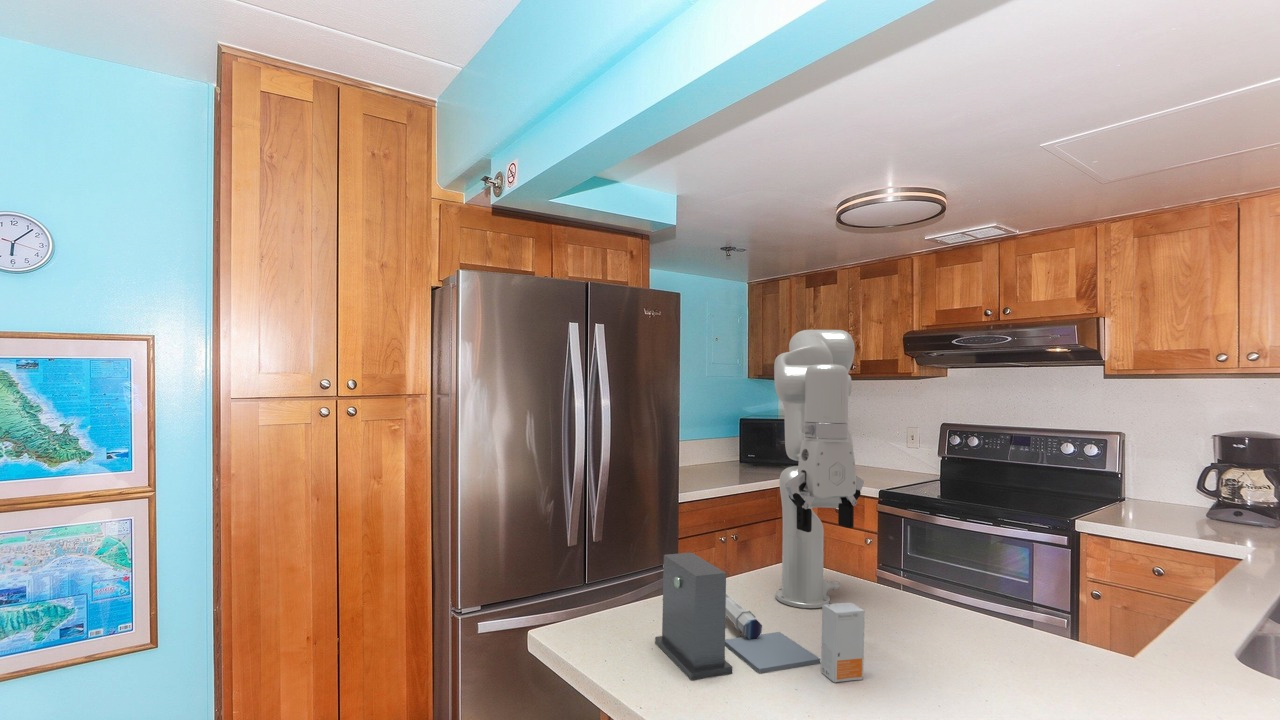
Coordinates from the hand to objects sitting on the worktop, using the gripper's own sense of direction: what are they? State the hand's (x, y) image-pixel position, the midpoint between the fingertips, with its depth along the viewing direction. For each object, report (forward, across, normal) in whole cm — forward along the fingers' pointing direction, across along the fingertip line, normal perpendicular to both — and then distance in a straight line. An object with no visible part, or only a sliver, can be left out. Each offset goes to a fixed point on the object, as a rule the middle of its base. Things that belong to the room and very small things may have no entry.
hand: (825, 528), depth 110 cm
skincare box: (+26, +2, -2) cm, 26 cm away
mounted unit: (+25, -19, +14) cm, 35 cm away
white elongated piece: (+25, -3, +27) cm, 37 cm away
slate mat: (+25, -4, +10) cm, 28 cm away
